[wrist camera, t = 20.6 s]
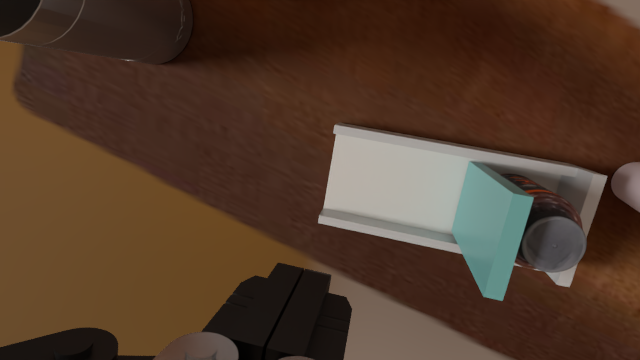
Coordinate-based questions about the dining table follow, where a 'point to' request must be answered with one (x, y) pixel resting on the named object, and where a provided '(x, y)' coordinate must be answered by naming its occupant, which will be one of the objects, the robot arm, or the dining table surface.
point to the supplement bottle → (549, 230)
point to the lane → (431, 186)
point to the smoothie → (628, 184)
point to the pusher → (490, 227)
